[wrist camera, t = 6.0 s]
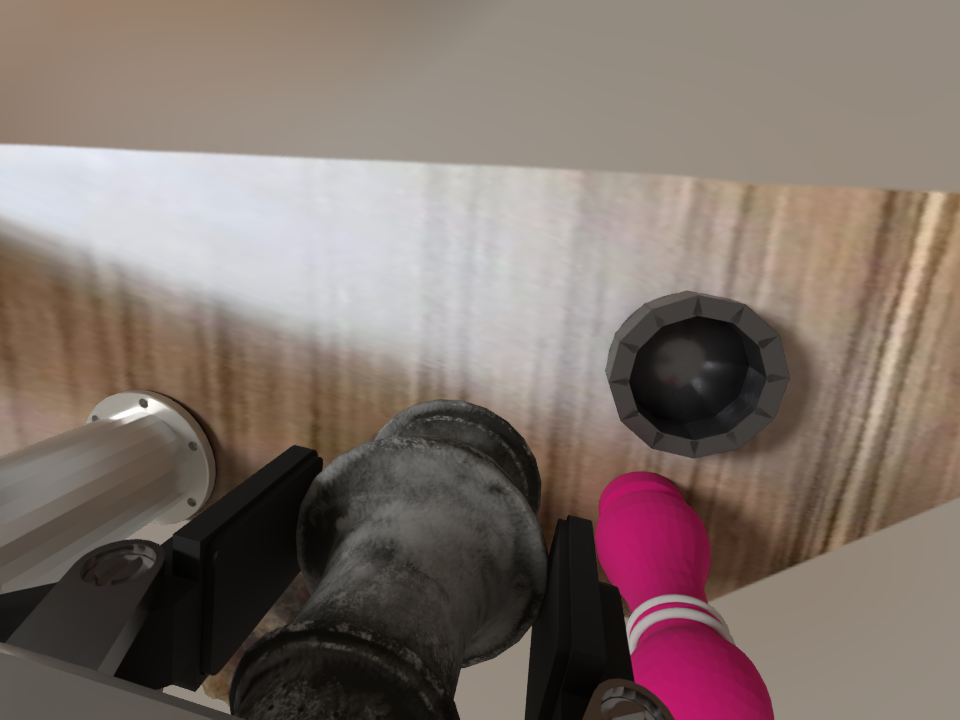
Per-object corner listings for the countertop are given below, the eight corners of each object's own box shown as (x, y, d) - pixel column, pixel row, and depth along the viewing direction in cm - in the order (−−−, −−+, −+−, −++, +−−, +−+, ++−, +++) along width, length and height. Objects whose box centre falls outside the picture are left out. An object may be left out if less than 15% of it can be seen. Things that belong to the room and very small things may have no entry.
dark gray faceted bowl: (629, 449, 35) (636, 471, 32) (589, 319, 33) (591, 327, 30) (778, 414, 33) (803, 433, 29) (743, 271, 31) (764, 274, 28)
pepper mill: (600, 456, 36) (639, 703, 16) (701, 473, 35) (868, 759, 15) (585, 540, 37) (603, 850, 18) (680, 559, 36) (806, 909, 17)
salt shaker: (580, 545, 14) (687, 2039, 2) (403, 589, 15) (-86, 1664, 4) (507, 360, 13) (83, 1309, 1) (326, 424, 14) (-650, 1175, 3)
